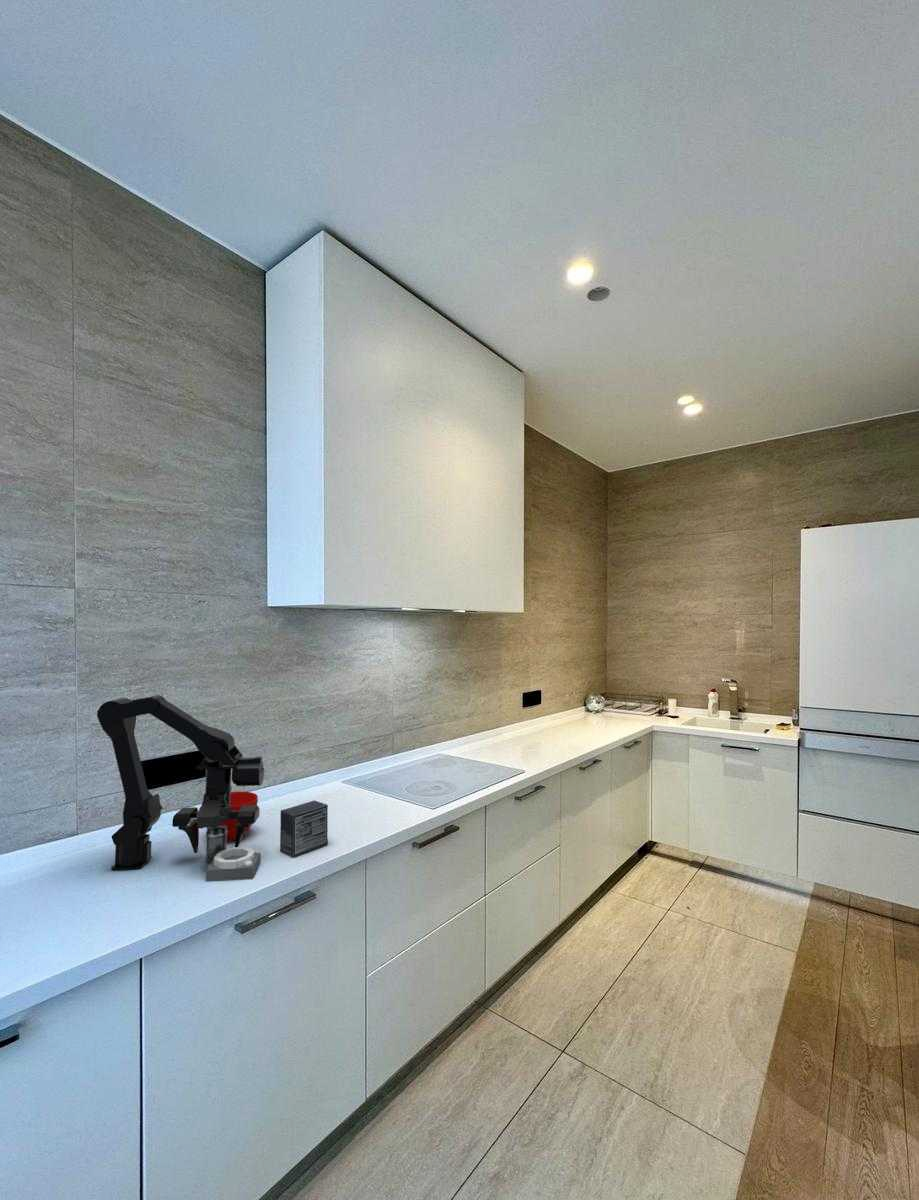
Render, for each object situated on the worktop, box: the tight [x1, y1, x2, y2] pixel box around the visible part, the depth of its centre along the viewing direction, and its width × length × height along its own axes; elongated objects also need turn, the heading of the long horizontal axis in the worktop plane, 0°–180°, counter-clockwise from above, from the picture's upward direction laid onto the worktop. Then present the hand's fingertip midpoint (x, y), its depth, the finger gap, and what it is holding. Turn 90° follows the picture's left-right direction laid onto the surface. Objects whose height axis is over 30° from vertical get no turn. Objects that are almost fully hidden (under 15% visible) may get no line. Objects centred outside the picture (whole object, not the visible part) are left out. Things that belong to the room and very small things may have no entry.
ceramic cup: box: [220, 790, 259, 842], centre depth 148 cm, size 13×17×10 cm
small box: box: [279, 800, 329, 859], centre depth 139 cm, size 11×6×10 cm, turn 141°
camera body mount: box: [205, 846, 262, 882], centre depth 125 cm, size 10×8×4 cm
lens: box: [205, 823, 227, 865], centre depth 131 cm, size 5×5×8 cm
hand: (216, 851), depth 131 cm, fingers open, 9 cm apart
